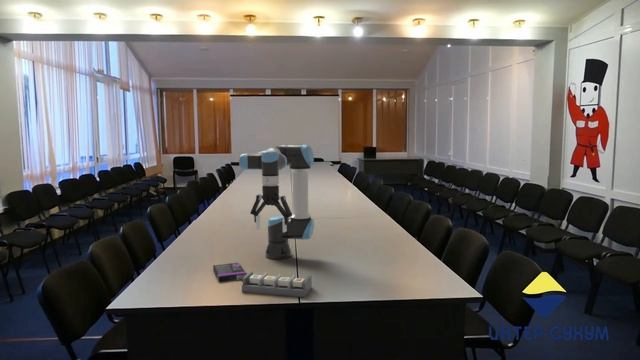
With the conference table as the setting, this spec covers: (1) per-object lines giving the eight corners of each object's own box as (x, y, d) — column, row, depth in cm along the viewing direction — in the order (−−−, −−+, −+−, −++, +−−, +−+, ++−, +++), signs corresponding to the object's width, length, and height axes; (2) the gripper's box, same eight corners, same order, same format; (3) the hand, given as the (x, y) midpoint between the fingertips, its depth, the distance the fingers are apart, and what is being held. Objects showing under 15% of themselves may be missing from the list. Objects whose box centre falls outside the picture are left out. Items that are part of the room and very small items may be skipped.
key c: (295, 283, 206) (295, 277, 206) (304, 283, 205) (304, 278, 205) (292, 286, 202) (292, 280, 201) (302, 287, 201) (302, 281, 200)
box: (246, 280, 222) (239, 267, 240) (246, 273, 221) (239, 261, 239) (218, 283, 217) (213, 270, 235) (218, 276, 216) (212, 264, 234)
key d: (267, 280, 209) (267, 275, 209) (275, 281, 208) (275, 275, 208) (263, 284, 205) (263, 278, 205) (272, 284, 204) (272, 279, 204)
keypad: (251, 282, 216) (251, 270, 215) (311, 287, 208) (311, 275, 208) (241, 291, 204) (241, 279, 203) (304, 297, 197) (304, 284, 196)
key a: (281, 282, 208) (281, 276, 207) (290, 282, 207) (290, 277, 206) (278, 285, 203) (278, 279, 203) (287, 286, 202) (287, 280, 202)
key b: (253, 279, 211) (253, 274, 211) (261, 280, 210) (261, 274, 210) (249, 282, 207) (249, 277, 206) (258, 283, 206) (258, 278, 205)
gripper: (242, 184, 203) (243, 230, 206) (292, 187, 194) (292, 234, 197) (250, 182, 210) (251, 226, 213) (299, 185, 201) (299, 230, 204)
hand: (271, 230), depth 205 cm, fingers open, 13 cm apart
